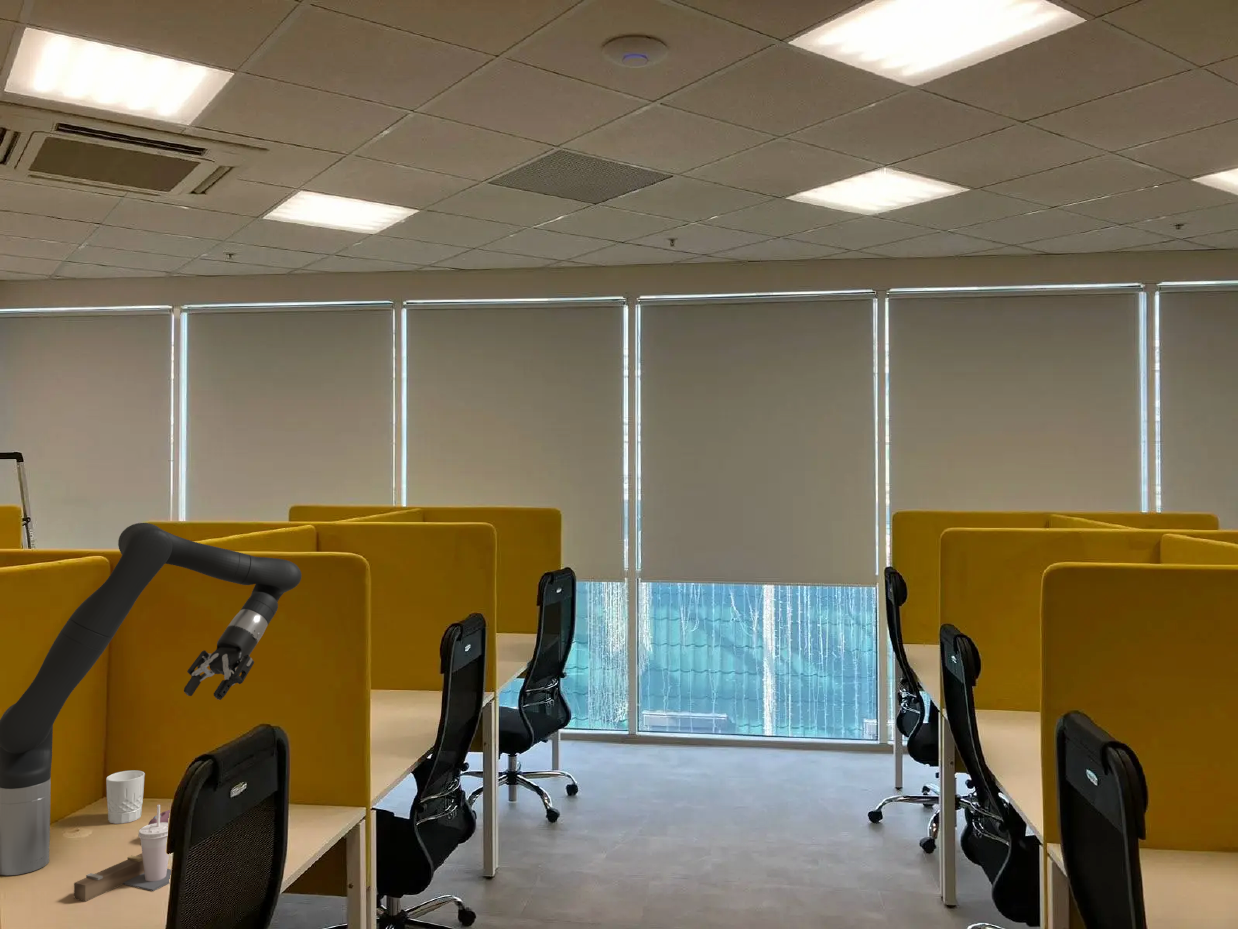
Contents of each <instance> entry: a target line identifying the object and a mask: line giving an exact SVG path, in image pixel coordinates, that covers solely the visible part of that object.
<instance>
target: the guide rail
mask: <svg viewBox="0 0 1238 929" xmlns="http://www.w3.org/2000/svg"><path fill="white" fill-rule="evenodd" d="M143 873H144V864H143V856H142V852H141V853H139V854H137V855H130V856H128V857H127V859H126V860H123V861H121V862H118V863H116V864H114V865H112V866H110V867H108V868H105V869H102V870H100V871H98V872H96V873H92V872H91V873H87V874H85V877H84V878H82V879H79V880H77V881H75V882H74V883H73V884H74V885H73V887H74V888H73V899H74V900H76V901H77V900H78V901H81V902H87V901H90V900H92V899H94V898H96V897H99V896H101V895H103V894H104V893H107V892H109V891H111V890H113V889H115V888H118V887H120V886H122V885H124V884H123V882H125V881H128V880H130V879H132V878H134V877H136V876H138V875H141V874H143Z"/></svg>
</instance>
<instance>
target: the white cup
mask: <svg viewBox="0 0 1238 929" xmlns="http://www.w3.org/2000/svg"><path fill="white" fill-rule="evenodd" d="M145 776H146V773H145V772H144V771H142V770H137V769H136V770H134V769H133V770H123V771H117V772H114V773H112V774H110V775H108V776H107V777H106V782H105V783H106V801H107V821H108V822H109V823H110V824H114V825H117V824H118V825H119V824H126V823H131V822H135V821H137V820H140V818H141V816H142V810H143V809H142V808H143V801H144V799H143V798H144V792H145V791H144V790H145V789H144V788H145Z"/></svg>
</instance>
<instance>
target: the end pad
mask: <svg viewBox="0 0 1238 929" xmlns="http://www.w3.org/2000/svg"><path fill="white" fill-rule="evenodd" d="M171 870H172V869H169V868H167V873H166V877H165V878H163V879H161V880H158V881H146V880H145V873H143V874H141V875H138V876H136V877H134V878H132V879H130V880H128V881H125V882H123V884H122V885H124V886H125V885H126V886H128V887H134V888H138V889H142V890H147V891H152V892H154V891H156V890H158V889H160V888H162V887H164V886H166V885H168V884H170V883H169V879H170V875H171Z"/></svg>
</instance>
